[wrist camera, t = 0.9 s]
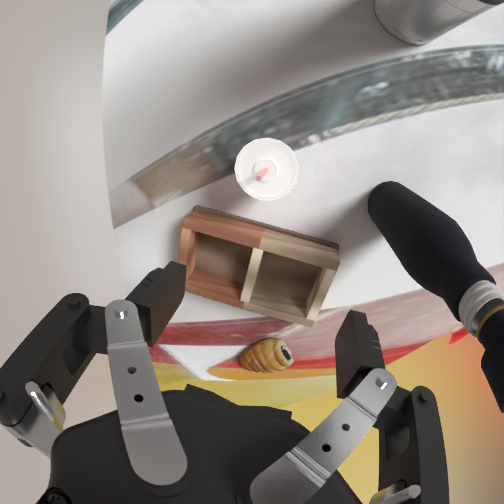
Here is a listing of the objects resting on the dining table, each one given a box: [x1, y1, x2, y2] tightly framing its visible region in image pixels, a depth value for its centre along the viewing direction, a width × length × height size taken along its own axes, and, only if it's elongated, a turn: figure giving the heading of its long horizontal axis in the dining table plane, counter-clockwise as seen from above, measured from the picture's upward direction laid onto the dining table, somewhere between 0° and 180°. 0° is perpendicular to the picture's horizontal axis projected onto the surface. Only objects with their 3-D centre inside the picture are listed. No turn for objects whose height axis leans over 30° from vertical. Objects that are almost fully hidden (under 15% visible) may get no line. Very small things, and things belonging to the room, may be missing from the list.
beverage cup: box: [234, 138, 299, 201], centre depth 27 cm, size 6×6×14 cm
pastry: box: [240, 338, 294, 373], centre depth 46 cm, size 9×7×4 cm
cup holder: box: [178, 205, 340, 327], centre depth 37 cm, size 11×20×5 cm, turn 77°
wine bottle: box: [368, 181, 504, 413], centre depth 20 cm, size 6×6×30 cm
